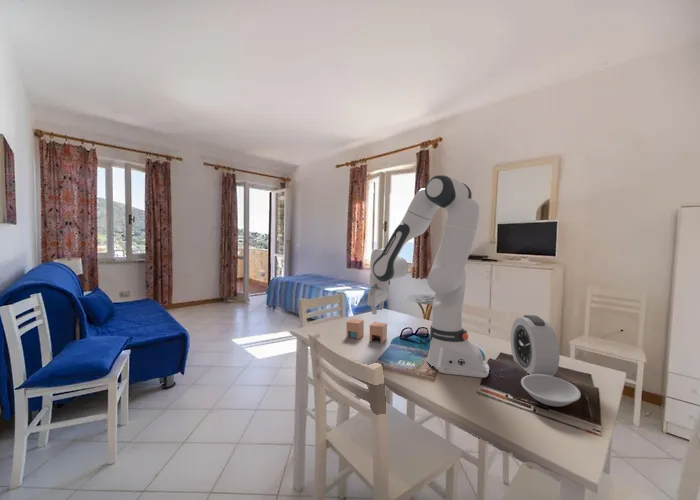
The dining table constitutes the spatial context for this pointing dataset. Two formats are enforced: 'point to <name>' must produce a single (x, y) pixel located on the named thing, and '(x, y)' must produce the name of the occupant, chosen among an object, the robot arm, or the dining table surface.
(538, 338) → the alarm clock
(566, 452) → the dining table surface
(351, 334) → the letter cube
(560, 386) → the dish
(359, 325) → the tan box with door
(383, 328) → the brown box with opening
